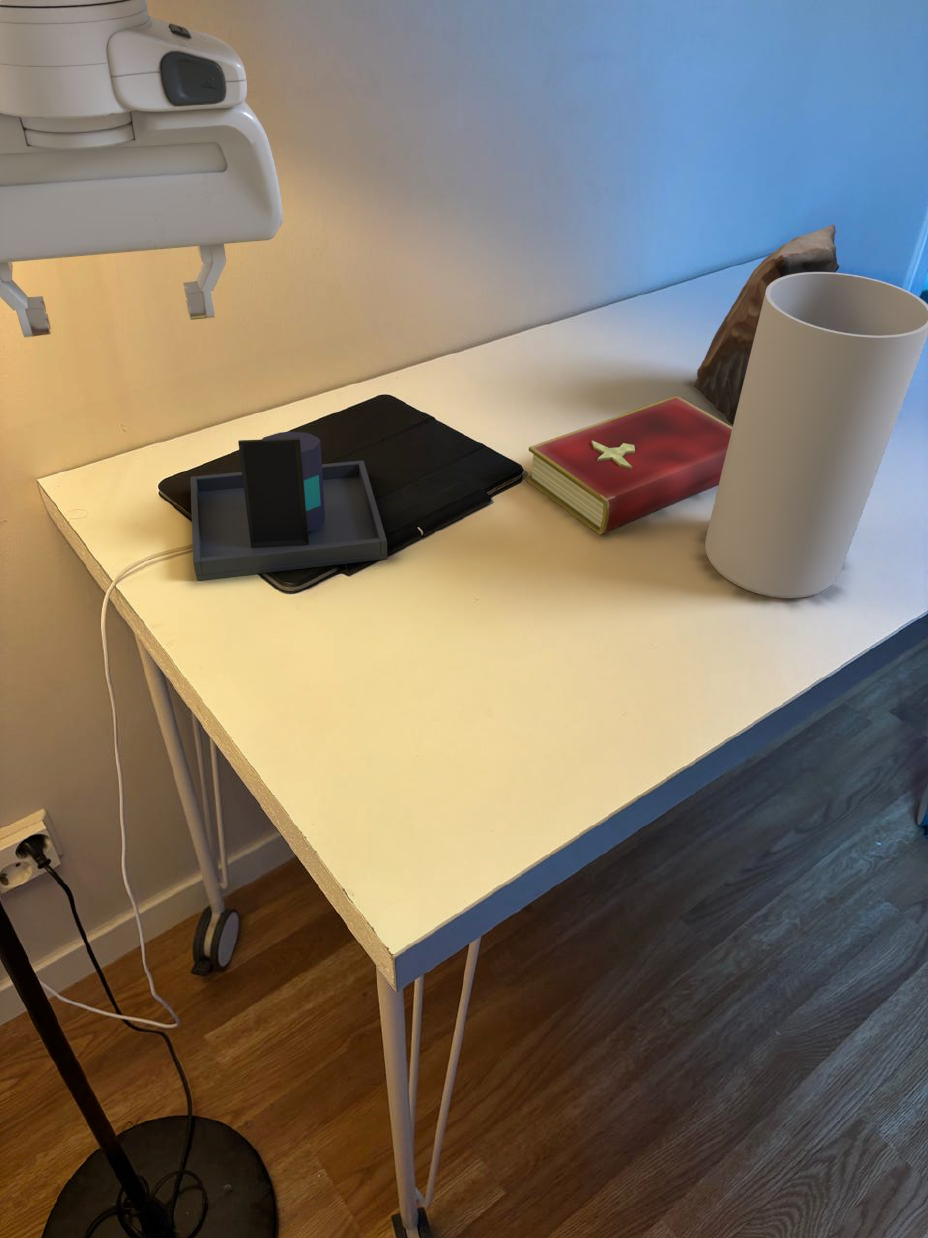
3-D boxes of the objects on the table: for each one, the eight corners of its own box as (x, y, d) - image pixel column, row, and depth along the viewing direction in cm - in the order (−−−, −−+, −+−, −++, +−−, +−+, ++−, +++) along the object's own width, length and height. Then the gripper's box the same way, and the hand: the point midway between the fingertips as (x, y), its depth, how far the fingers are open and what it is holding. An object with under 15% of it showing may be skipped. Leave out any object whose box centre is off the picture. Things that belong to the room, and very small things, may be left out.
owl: (792, 383, 118) (839, 216, 105) (825, 434, 108) (881, 258, 95) (691, 381, 117) (726, 213, 104) (716, 433, 108) (757, 256, 95)
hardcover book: (750, 474, 101) (759, 439, 99) (602, 537, 92) (608, 500, 89) (670, 426, 109) (677, 392, 106) (525, 480, 99) (529, 444, 96)
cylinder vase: (867, 585, 87) (970, 324, 71) (752, 615, 84) (833, 347, 67) (785, 512, 96) (860, 264, 80) (678, 535, 92) (734, 281, 76)
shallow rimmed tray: (196, 581, 85) (193, 562, 84) (193, 494, 95) (190, 476, 94) (387, 559, 88) (387, 540, 87) (364, 477, 99) (363, 460, 97)
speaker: (308, 555, 87) (297, 450, 81) (249, 548, 88) (234, 443, 82) (336, 516, 93) (328, 416, 87) (280, 510, 94) (268, 410, 88)
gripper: (-176, 83, 43) (-73, 367, 52) (275, 66, 49) (298, 326, 58) (-157, 55, 48) (-65, 321, 57) (254, 42, 53) (278, 287, 62)
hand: (121, 323), depth 57 cm, fingers open, 8 cm apart
